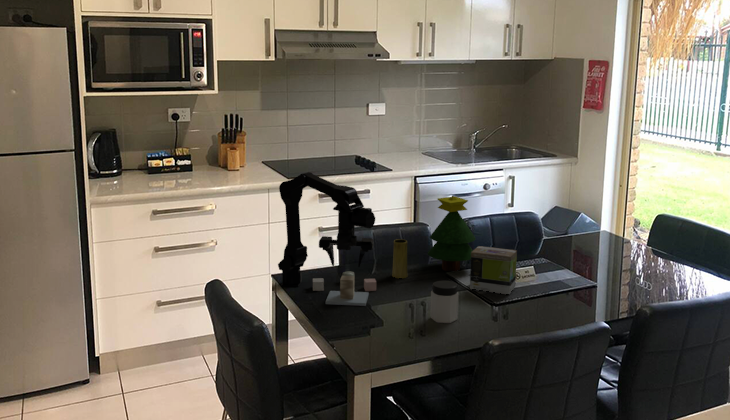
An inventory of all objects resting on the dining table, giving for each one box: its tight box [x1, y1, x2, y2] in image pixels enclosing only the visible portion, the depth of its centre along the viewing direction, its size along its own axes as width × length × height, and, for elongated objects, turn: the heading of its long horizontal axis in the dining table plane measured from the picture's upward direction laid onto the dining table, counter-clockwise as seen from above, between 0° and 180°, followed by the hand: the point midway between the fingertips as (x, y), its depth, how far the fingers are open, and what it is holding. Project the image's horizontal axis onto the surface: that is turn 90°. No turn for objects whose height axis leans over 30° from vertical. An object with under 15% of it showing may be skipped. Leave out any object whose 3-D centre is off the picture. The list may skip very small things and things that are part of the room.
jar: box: [429, 280, 459, 324], centre depth 244 cm, size 9×8×12 cm
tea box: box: [469, 245, 518, 295], centre depth 272 cm, size 15×10×15 cm
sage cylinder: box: [342, 270, 355, 276], centre depth 280 cm, size 4×4×4 cm
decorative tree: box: [427, 195, 477, 272], centre depth 293 cm, size 19×19×30 cm
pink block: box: [363, 278, 377, 292], centre depth 272 cm, size 4×4×4 cm
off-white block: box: [312, 277, 325, 292], centre depth 272 cm, size 4×4×4 cm
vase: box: [391, 238, 409, 279], centre depth 286 cm, size 6×6×14 cm
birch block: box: [339, 275, 356, 299], centre depth 261 cm, size 4×4×7 cm
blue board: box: [325, 290, 370, 307], centre depth 262 cm, size 14×11×1 cm
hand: (346, 266), depth 261 cm, fingers open, 9 cm apart
